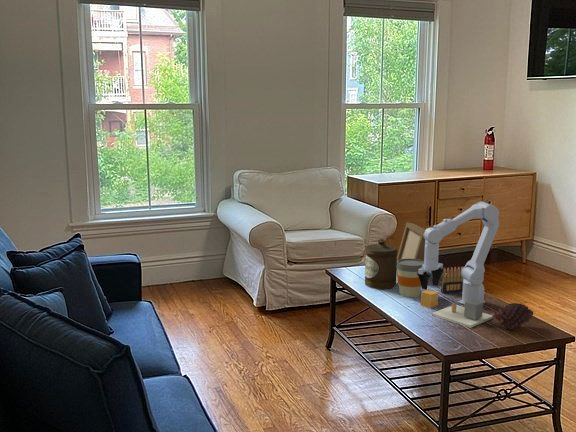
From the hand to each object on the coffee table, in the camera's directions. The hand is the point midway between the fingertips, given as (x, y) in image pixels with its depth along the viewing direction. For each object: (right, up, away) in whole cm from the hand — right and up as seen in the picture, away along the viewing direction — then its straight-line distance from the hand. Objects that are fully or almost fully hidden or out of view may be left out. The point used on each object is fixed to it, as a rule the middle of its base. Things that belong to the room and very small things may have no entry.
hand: (429, 287), depth 260 cm
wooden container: (-16, -2, +31) cm, 35 cm away
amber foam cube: (0, -8, +2) cm, 8 cm away
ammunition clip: (+15, -5, +19) cm, 25 cm away
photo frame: (+3, 0, +45) cm, 45 cm away
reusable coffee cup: (-5, -5, +17) cm, 18 cm away
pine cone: (+27, -13, -23) cm, 38 cm away
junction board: (+10, -11, -12) cm, 19 cm away
